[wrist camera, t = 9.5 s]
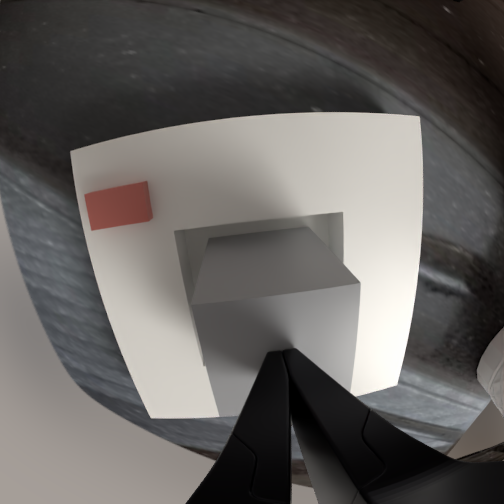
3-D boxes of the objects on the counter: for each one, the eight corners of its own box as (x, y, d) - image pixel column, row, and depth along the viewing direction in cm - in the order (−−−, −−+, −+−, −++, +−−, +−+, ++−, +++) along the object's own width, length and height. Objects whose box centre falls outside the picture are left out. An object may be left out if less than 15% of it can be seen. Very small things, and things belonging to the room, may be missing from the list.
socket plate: (391, 120, 12) (427, 115, 9) (380, 360, 17) (400, 391, 14) (96, 150, 12) (62, 151, 9) (158, 388, 16) (149, 425, 14)
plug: (308, 226, 13) (360, 283, 7) (311, 348, 15) (342, 434, 10) (208, 237, 13) (190, 305, 7) (229, 359, 15) (230, 451, 10)
